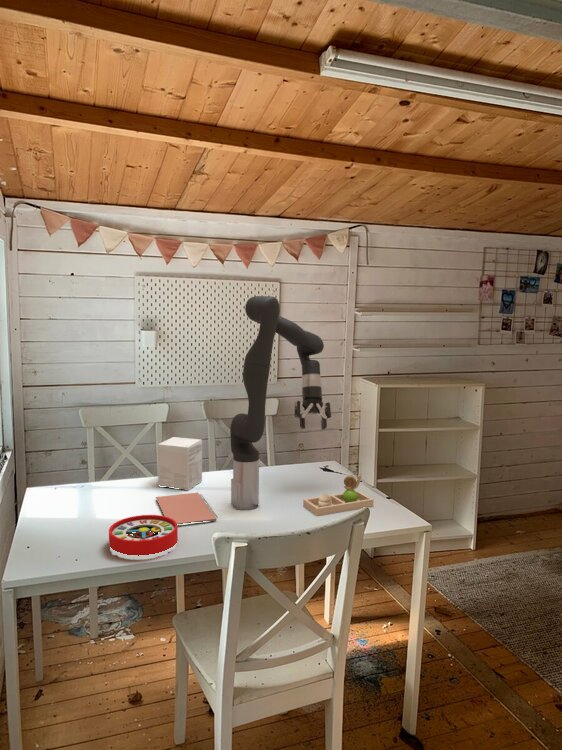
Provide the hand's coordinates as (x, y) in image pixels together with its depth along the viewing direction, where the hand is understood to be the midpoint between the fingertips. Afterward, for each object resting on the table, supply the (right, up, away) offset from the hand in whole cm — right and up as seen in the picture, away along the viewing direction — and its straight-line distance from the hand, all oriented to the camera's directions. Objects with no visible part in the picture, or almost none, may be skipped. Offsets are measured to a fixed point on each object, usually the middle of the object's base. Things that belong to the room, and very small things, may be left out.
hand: (313, 429), depth 215 cm
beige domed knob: (+3, -27, -15) cm, 31 cm away
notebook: (-46, -28, -16) cm, 56 cm away
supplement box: (-52, -23, +12) cm, 58 cm away
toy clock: (-53, -31, -44) cm, 76 cm away
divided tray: (+8, -27, -12) cm, 31 cm away
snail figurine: (+13, -26, -10) cm, 31 cm away
